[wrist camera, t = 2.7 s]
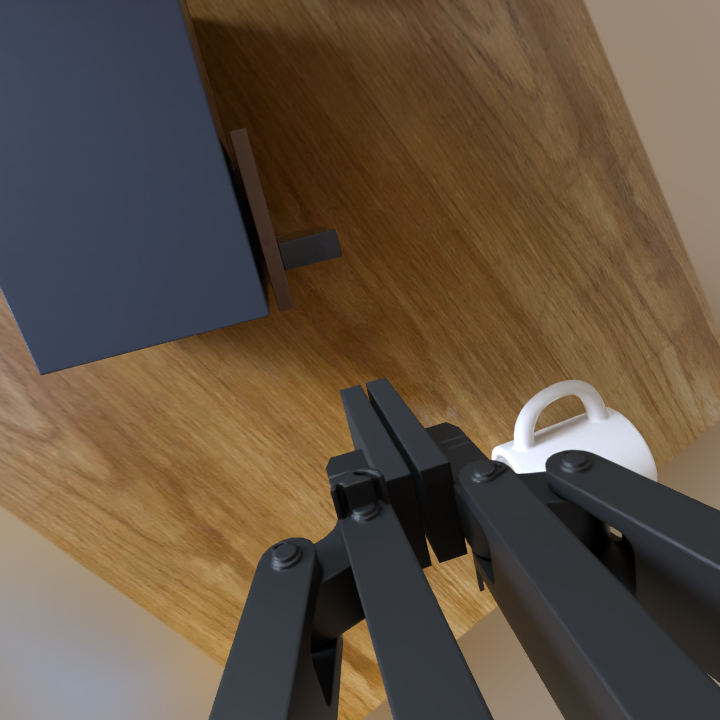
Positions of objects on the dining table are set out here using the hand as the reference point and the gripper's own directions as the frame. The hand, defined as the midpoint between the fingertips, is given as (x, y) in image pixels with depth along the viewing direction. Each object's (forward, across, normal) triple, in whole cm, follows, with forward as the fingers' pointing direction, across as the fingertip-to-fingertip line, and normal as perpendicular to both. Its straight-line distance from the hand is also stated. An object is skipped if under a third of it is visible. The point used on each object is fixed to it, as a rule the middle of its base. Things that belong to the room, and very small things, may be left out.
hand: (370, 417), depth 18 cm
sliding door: (+20, 0, +7) cm, 21 cm away
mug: (+21, +17, -15) cm, 31 cm away
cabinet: (+20, -8, +12) cm, 25 cm away
